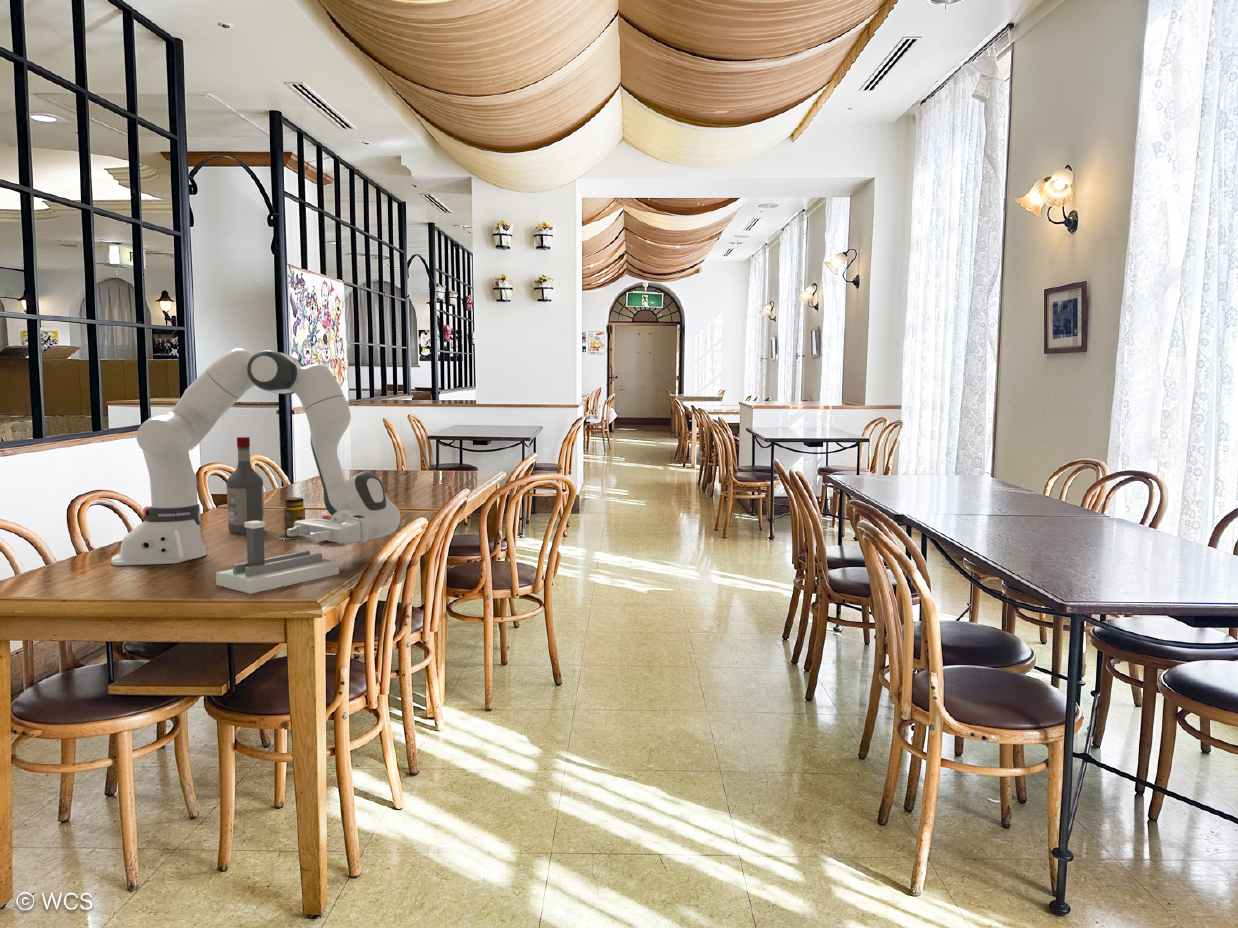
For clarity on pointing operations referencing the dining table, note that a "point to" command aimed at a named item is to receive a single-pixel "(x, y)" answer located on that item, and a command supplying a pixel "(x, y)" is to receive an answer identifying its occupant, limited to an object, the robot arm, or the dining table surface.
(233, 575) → the box
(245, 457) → the liquor
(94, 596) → the dining table surface
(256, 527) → the handle
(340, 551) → the dining table surface
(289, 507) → the condiment
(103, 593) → the dining table surface
